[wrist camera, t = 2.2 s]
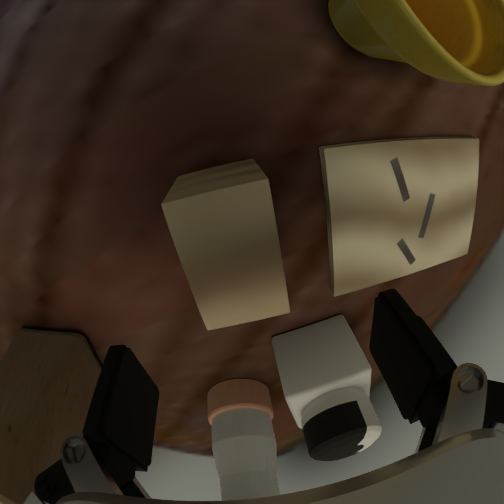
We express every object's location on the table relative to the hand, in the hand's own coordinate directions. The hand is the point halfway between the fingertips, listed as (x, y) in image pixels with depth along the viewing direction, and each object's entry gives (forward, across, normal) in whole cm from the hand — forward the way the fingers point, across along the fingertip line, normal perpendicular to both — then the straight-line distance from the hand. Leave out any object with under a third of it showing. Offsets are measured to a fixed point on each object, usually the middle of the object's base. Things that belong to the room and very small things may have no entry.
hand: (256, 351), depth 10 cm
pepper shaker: (+12, +5, +20) cm, 24 cm away
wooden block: (+11, +23, +10) cm, 27 cm away
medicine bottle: (+12, -4, +14) cm, 19 cm away
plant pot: (+11, -12, -14) cm, 22 cm away
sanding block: (+11, +1, -1) cm, 11 cm away
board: (+12, -14, +1) cm, 19 cm away
